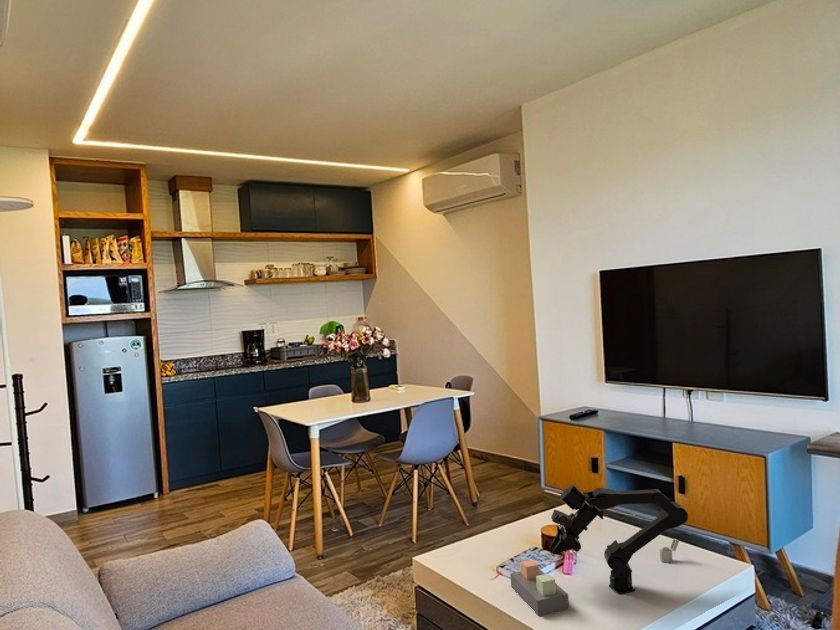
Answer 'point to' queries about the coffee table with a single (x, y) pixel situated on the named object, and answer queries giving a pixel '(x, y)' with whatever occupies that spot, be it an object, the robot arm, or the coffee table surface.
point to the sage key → (545, 584)
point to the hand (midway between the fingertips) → (551, 551)
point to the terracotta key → (529, 569)
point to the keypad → (539, 595)
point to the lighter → (668, 552)
